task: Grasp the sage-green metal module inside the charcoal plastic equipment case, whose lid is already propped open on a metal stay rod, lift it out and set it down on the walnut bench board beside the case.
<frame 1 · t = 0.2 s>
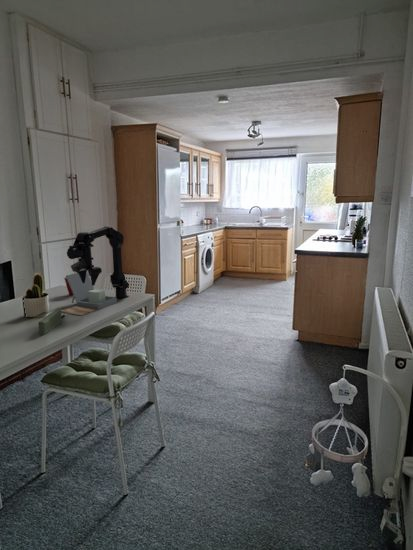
hand: (88, 284, 202), 14 cm above the table, fingers open, 9 cm apart
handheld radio: (53, 326, 178), on the table
equipment case: (97, 304, 213), on the table
bench board: (78, 311, 200), on the table
small box: (35, 314, 196), on the table
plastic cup: (74, 294, 235), on the table
module: (97, 304, 213), resting in equipment case
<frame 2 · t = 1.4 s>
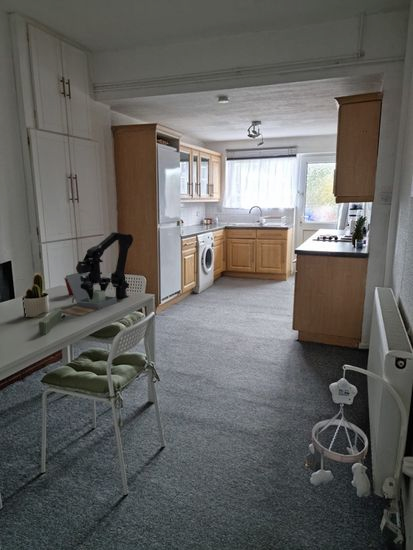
hand: (97, 297, 212), 4 cm above the table, fingers open, 9 cm apart
nothing on the table moved.
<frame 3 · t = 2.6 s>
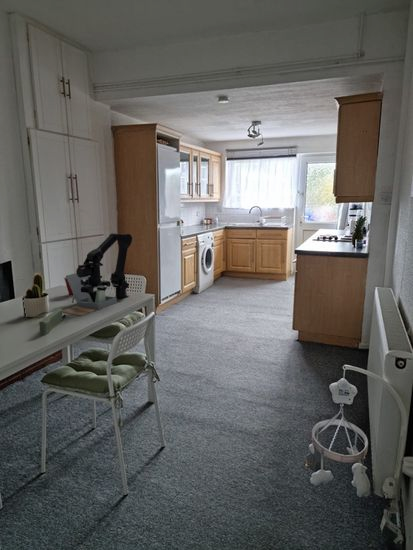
hand: (97, 301, 213), 2 cm above the table, fingers closed on module, 5 cm apart
module: (97, 304, 213), resting in equipment case, touching gripper
everything else where it was.
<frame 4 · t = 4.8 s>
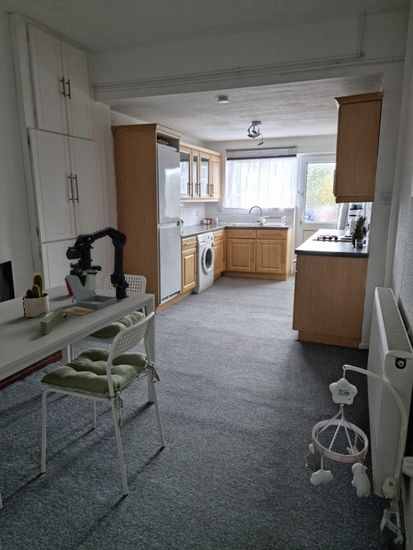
hand: (87, 285, 204), 13 cm above the table, fingers closed on module, 5 cm apart
module: (87, 289, 205), point 11 cm above the table, touching gripper
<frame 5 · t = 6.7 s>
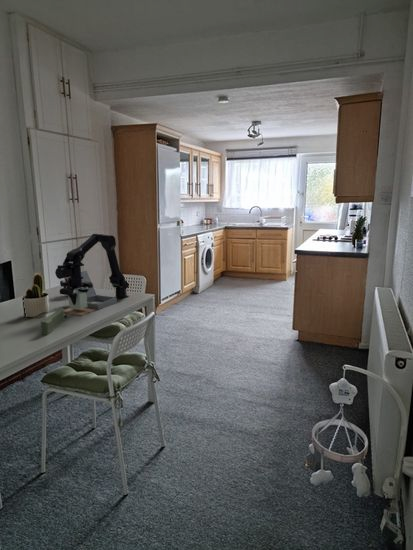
hand: (78, 303, 199), 4 cm above the table, fingers closed on module, 5 cm apart
module: (78, 307, 200), point 2 cm above the table, touching gripper
when the fingers open (4 cm above the table, at t = 7.6 s): module drops 1 cm, resting on bench board.
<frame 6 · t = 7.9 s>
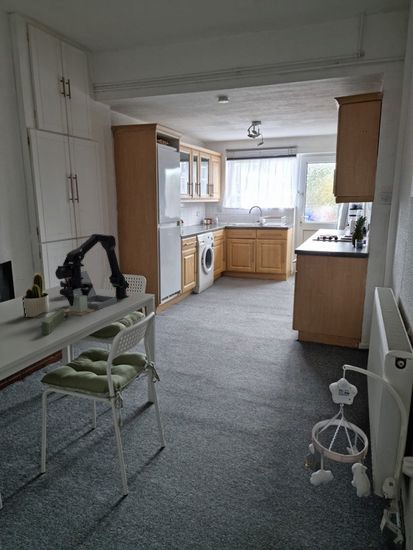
hand: (78, 304, 199), 4 cm above the table, fingers open, 9 cm apart
module: (78, 310, 200), point 1 cm above the table, touching bench board
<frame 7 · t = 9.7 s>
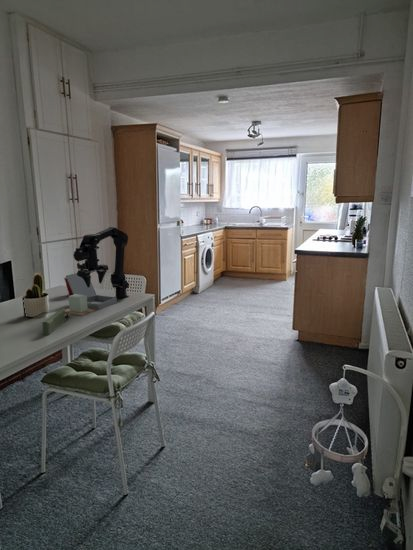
hand: (94, 285, 206), 12 cm above the table, fingers open, 9 cm apart
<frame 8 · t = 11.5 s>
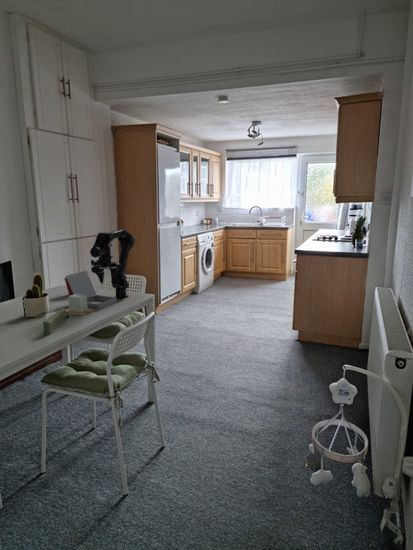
hand: (107, 281, 212), 13 cm above the table, fingers open, 9 cm apart
at the end: module inside the target area on the bench board (0.1 cm from its centre), point 0.6 cm above the bench board's base; module tilted 0°; the gripper is holding nothing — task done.
